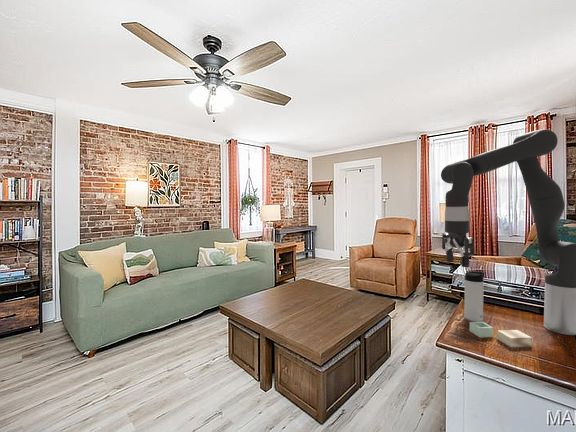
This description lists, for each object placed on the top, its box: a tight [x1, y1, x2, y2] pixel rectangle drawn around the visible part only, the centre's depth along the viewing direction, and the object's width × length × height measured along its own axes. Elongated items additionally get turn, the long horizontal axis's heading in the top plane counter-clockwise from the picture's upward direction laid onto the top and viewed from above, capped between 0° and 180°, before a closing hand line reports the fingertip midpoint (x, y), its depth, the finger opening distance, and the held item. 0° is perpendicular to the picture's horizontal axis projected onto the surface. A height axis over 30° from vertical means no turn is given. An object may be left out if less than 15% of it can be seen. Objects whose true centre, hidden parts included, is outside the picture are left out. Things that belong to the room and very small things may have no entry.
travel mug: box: [463, 271, 485, 322], centre depth 111 cm, size 6×7×20 cm
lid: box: [496, 329, 532, 348], centre depth 93 cm, size 7×6×3 cm
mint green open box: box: [469, 321, 494, 339], centre depth 99 cm, size 5×5×4 cm
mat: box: [494, 337, 534, 349], centre depth 93 cm, size 8×6×1 cm
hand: (457, 264), depth 99 cm, fingers open, 8 cm apart
